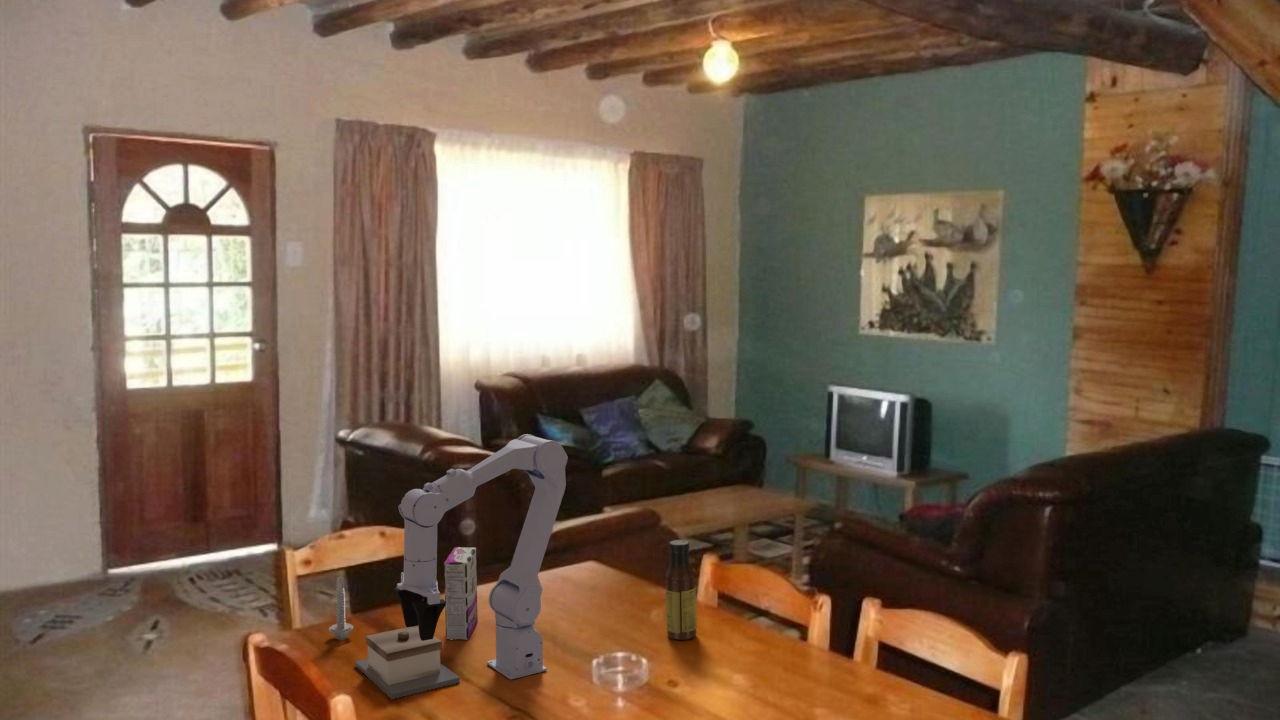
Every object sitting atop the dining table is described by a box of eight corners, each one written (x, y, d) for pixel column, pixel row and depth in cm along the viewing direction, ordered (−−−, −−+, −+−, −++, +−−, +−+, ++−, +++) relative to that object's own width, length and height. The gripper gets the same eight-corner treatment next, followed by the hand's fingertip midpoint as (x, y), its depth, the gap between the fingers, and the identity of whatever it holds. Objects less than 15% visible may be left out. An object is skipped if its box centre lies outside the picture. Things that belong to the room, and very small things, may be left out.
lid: (441, 649, 194) (441, 636, 194) (387, 661, 188) (387, 648, 188) (418, 632, 203) (418, 619, 202) (365, 643, 196) (365, 630, 196)
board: (459, 682, 193) (459, 677, 192) (392, 699, 185) (392, 694, 185) (419, 652, 207) (419, 647, 207) (355, 666, 200) (355, 661, 200)
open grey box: (440, 672, 195) (440, 649, 194) (388, 685, 189) (388, 660, 188) (418, 655, 203) (417, 633, 202) (368, 667, 197) (367, 643, 196)
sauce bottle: (697, 631, 220) (698, 538, 218) (695, 642, 214) (697, 546, 212) (666, 629, 220) (667, 537, 218) (663, 640, 214) (664, 545, 212)
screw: (354, 633, 217) (352, 641, 212) (330, 634, 216) (327, 642, 212) (353, 571, 216) (350, 579, 211) (329, 572, 215) (326, 580, 210)
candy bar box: (454, 621, 225) (454, 546, 223) (478, 621, 224) (477, 546, 223) (443, 640, 213) (443, 561, 212) (468, 641, 213) (467, 562, 212)
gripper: (385, 550, 190) (384, 623, 191) (412, 570, 178) (411, 649, 179) (422, 546, 194) (421, 618, 195) (452, 566, 182) (450, 642, 183)
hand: (419, 632), depth 187 cm, fingers open, 7 cm apart
